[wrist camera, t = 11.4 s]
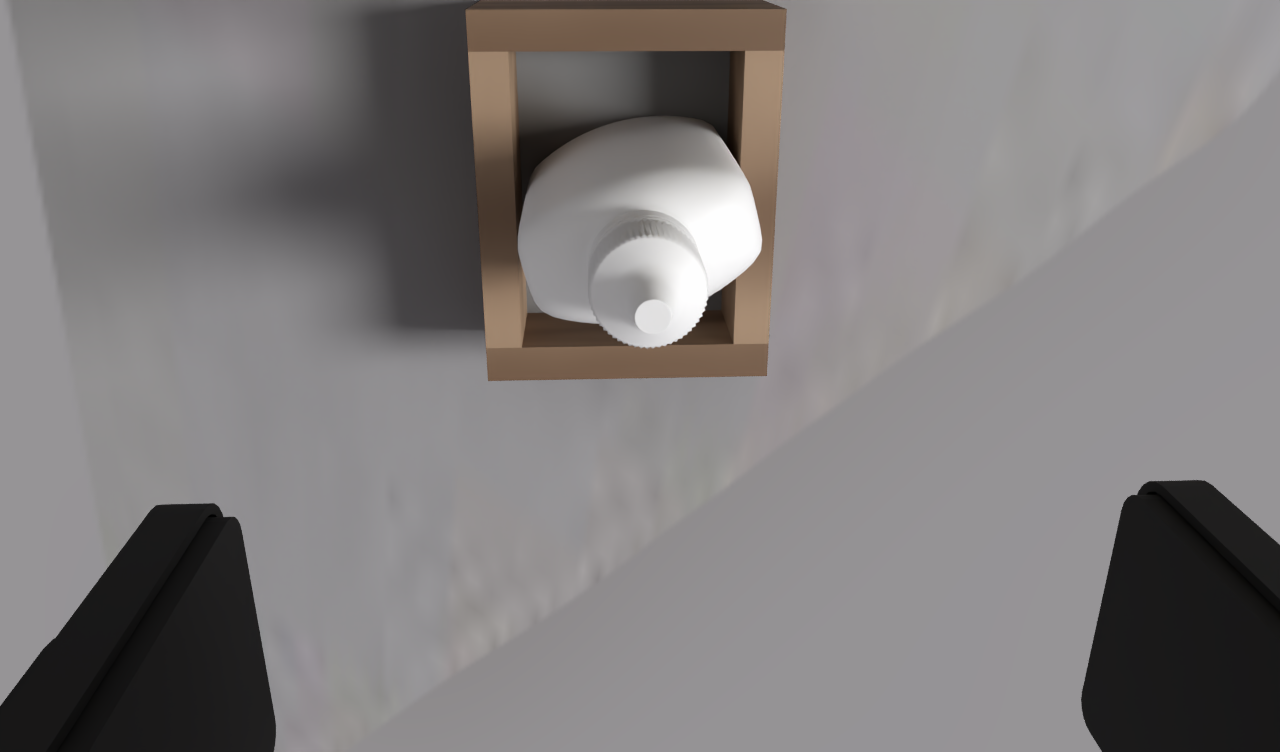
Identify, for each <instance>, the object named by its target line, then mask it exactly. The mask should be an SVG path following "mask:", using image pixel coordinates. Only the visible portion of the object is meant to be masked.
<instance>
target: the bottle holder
mask: <svg viewBox="0 0 1280 752" xmlns="http://www.w3.org/2000/svg"><path fill="white" fill-rule="evenodd" d="M465 11H466V28H467V44H468V60H469V76H470V93H471V109H472V125H473V141H474V158H475V174H476V190H477V207H478V223H479V239H480V255H481V272H482V288H483V304H484V320H485V337H486V353H487V369H488V381H504V380H561V379H618V378H675V377H732V376H767V361H768V342H769V324H770V305H771V287H772V269H773V250H774V232H775V213H776V195H777V177H778V158H779V140H780V121H781V103H782V84H783V66H784V48H785V29H786V11H787V9H785V8H782V7H780V6H777V5H774V4H771V3H769V2H766V1H763V0H480V1H479V2H477V3H475V4H474V5H472V6H470V7H469V8H467V9H466V10H465ZM648 116H679V117H688V118H694V119H699V120H703V121H705V122H707V123H709V124H711V125H712V126H713V127H714V128H715V130H716V131H717V132H718V134H719V136H720V137H721V139H722V140H723V142H724V143H725V145H726V146H727V148H728V149H729V151H730V152H731V154H732V155H733V157H734V159H735V160H736V162H737V163H738V165H739V167H740V168H741V170H742V172H743V173H744V175H745V177H746V179H747V181H748V182H749V184H750V187H751V191H752V194H753V198H754V202H755V206H756V210H757V215H758V219H759V224H760V229H761V235H762V246H761V252H760V253H759V255H758V257H757V258H756V260H755V261H754V263H753V264H752V265H751V266H749V267H748V268H747V269H746V270H745V271H744V272H743V273H742V274H741V275H739V276H738V277H737V278H736V279H734V280H733V281H732V282H730V283H729V284H727V285H726V286H725V287H723V288H722V289H720V290H719V291H717V292H716V293H714V294H712V295H711V296H709V297H708V300H707V301H706V303H707V305H706V306H705V307H704V308H705V311H704V312H703V313H702V315H703V316H702V317H700V318H699V322H697V323H695V324H696V326H695V327H693V328H692V331H689V332H688V333H687V335H684V336H683V338H682V339H678V340H677V342H672V344H667V345H666V346H661V347H660V348H659V347H655V348H651V347H649V348H648V349H647V348H645V347H643V348H640V347H639V346H638V347H634V346H633V345H631V346H629V345H628V344H623V342H622V341H617V338H612V335H609V334H608V333H607V331H605V330H603V327H602V326H599V324H593V323H583V322H576V321H569V320H564V319H560V318H555V317H552V316H550V315H548V314H547V313H545V312H543V311H541V310H540V308H539V307H538V306H537V304H536V303H535V302H534V300H533V297H532V295H531V292H530V289H529V287H528V284H527V281H526V278H525V275H524V271H523V268H522V265H521V261H520V257H519V253H518V232H519V225H520V220H521V215H522V210H523V206H524V201H525V197H526V192H527V188H528V184H529V179H530V176H531V175H532V173H533V171H534V169H535V168H536V167H537V166H538V165H539V164H540V163H541V162H542V161H543V160H544V159H545V158H546V157H548V156H549V155H550V154H552V153H553V152H554V151H556V150H557V149H559V148H560V147H562V146H563V145H565V144H566V143H568V142H570V141H571V140H573V139H575V138H577V137H579V136H580V135H582V134H584V133H587V132H589V131H591V130H593V129H596V128H599V127H601V126H604V125H607V124H611V123H614V122H618V121H622V120H627V119H632V118H639V117H648Z"/></svg>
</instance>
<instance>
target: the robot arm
mask: <svg viewBox="0 0 1280 752" xmlns="http://www.w3.org/2000/svg"><path fill="white" fill-rule="evenodd" d="M1081 702H1082V711H1083V716H1084V720H1085V723H1086V726H1087V728H1088V729H1089V731H1090V733H1091V735H1092V736H1093V738H1094V740H1095V741H1096V743H1097V744H1098V746H1099V747H1100V749H1101V750H1102V752H1280V545H1279V544H1278V543H1277V542H1276V541H1275V540H1273V539H1272V538H1271V537H1270V536H1269V535H1268V534H1267V533H1266V532H1264V531H1263V530H1262V529H1261V528H1260V527H1259V526H1258V525H1257V524H1255V523H1254V522H1253V521H1252V520H1251V519H1250V518H1249V517H1247V516H1246V515H1245V514H1244V513H1243V512H1242V511H1241V510H1240V509H1238V508H1237V507H1236V506H1235V505H1234V504H1232V502H1231V501H1229V500H1228V499H1227V498H1226V497H1225V496H1224V495H1223V494H1221V493H1220V492H1219V491H1218V490H1217V489H1216V488H1215V487H1214V486H1212V485H1211V484H1209V483H1208V482H1206V481H1201V480H1190V481H1189V480H1188V481H1149V482H1147V483H1146V484H1144V485H1143V486H1142V487H1141V489H1140V490H1139V492H1138V494H1137V495H1131V496H1130V497H1128V498H1127V499H1126V501H1125V502H1124V504H1123V507H1122V510H1121V515H1120V520H1119V525H1118V529H1117V534H1116V538H1115V543H1114V548H1113V552H1112V557H1111V561H1110V566H1109V571H1108V575H1107V580H1106V584H1105V589H1104V594H1103V598H1102V603H1101V607H1100V613H1099V617H1098V621H1097V626H1096V630H1095V635H1094V640H1093V644H1092V649H1091V654H1090V658H1089V663H1088V668H1087V672H1086V677H1085V682H1084V686H1083V691H1082V698H1081ZM275 738H276V723H275V716H274V710H273V704H272V699H271V693H270V687H269V682H268V676H267V671H266V665H265V659H264V654H263V648H262V642H261V637H260V631H259V626H258V620H257V614H256V609H255V603H254V597H253V592H252V586H251V580H250V575H249V569H248V564H247V558H246V552H245V547H244V541H243V535H242V530H241V526H240V523H239V522H238V520H237V519H236V518H235V517H223V514H222V512H221V510H220V508H219V507H218V506H217V505H216V504H214V503H212V504H169V505H156V506H155V507H154V508H153V509H152V510H151V511H150V512H149V513H148V515H147V516H146V517H145V519H144V520H143V521H142V523H141V524H140V525H139V527H138V528H137V529H136V531H135V532H134V533H133V535H132V536H131V537H130V539H129V540H128V542H127V543H126V544H125V546H124V547H123V548H122V550H121V551H120V552H119V554H118V555H117V556H116V558H115V559H114V560H113V562H112V563H111V564H110V566H109V567H108V568H107V570H106V571H105V572H104V574H103V575H102V576H101V578H100V579H99V581H98V582H97V583H96V585H95V586H94V587H93V588H92V590H91V591H90V593H89V594H88V595H87V596H86V598H85V599H84V601H83V602H82V603H81V605H80V606H79V607H78V609H77V610H76V611H75V613H74V614H73V615H72V617H71V618H70V620H69V621H68V622H67V623H66V625H65V626H64V627H63V629H62V630H61V631H60V633H59V634H58V636H57V637H56V638H55V639H53V640H52V641H51V642H50V643H49V644H48V645H47V646H46V647H45V648H44V649H43V650H42V652H41V653H40V654H39V655H38V657H37V658H36V659H35V661H34V662H33V663H32V665H31V666H30V667H29V669H28V670H27V672H26V673H25V674H24V675H23V677H22V678H21V679H20V681H19V682H18V683H17V685H16V686H15V687H14V689H13V690H12V691H11V693H10V694H9V695H8V697H7V698H6V699H5V701H4V702H3V703H2V705H1V706H0V752H274V747H275Z"/></svg>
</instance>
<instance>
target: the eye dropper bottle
mask: <svg viewBox="0 0 1280 752" xmlns="http://www.w3.org/2000/svg"><path fill="white" fill-rule="evenodd" d="M761 246H762V235H761V229H760V224H759V219H758V215H757V210H756V206H755V202H754V198H753V194H752V191H751V187H750V184H749V182H748V181H747V179H746V177H745V175H744V173H743V172H742V170H741V168H740V167H739V165H738V163H737V162H736V160H735V159H734V157H733V155H732V154H731V152H730V151H729V149H728V148H727V146H726V145H725V143H724V142H723V140H722V139H721V137H720V136H719V134H718V132H717V131H716V130H715V128H714V127H713V126H712V125H711V124H709V123H707V122H705V121H703V120H699V119H694V118H688V117H679V116H648V117H639V118H632V119H627V120H622V121H618V122H614V123H611V124H607V125H604V126H601V127H599V128H596V129H593V130H591V131H589V132H587V133H584V134H582V135H580V136H579V137H577V138H575V139H573V140H571V141H570V142H568V143H566V144H565V145H563V146H562V147H560V148H559V149H557V150H556V151H554V152H553V153H552V154H550V155H549V156H548V157H546V158H545V159H544V160H543V161H542V162H541V163H540V164H539V165H538V166H537V167H536V168H535V169H534V171H533V173H532V175H531V176H530V179H529V184H528V188H527V192H526V197H525V201H524V206H523V210H522V215H521V220H520V225H519V232H518V253H519V257H520V261H521V265H522V268H523V271H524V275H525V278H526V281H527V284H528V287H529V289H530V292H531V295H532V297H533V300H534V302H535V303H536V304H537V306H538V307H539V308H540V310H541V311H543V312H545V313H547V314H548V315H550V316H552V317H555V318H560V319H564V320H569V321H576V322H583V323H593V324H599V326H602V327H603V330H605V331H607V333H608V334H609V335H612V338H617V341H622V342H623V344H628V345H629V346H631V345H633V346H634V347H638V346H639V347H640V348H643V347H645V348H647V349H648V348H649V347H651V348H655V347H659V348H660V347H661V346H666V345H667V344H672V342H677V340H678V339H682V338H683V336H684V335H687V333H688V332H689V331H692V328H693V327H695V326H696V324H695V323H697V322H699V318H700V317H702V316H703V315H702V313H703V312H704V311H705V308H704V307H705V306H706V305H707V303H706V301H707V300H708V297H709V296H711V295H712V294H714V293H716V292H717V291H719V290H720V289H722V288H723V287H725V286H726V285H727V284H729V283H730V282H732V281H733V280H734V279H736V278H737V277H738V276H739V275H741V274H742V273H743V272H744V271H745V270H746V269H747V268H748V267H749V266H751V265H752V264H753V263H754V261H755V260H756V258H757V257H758V255H759V253H760V252H761Z"/></svg>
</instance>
